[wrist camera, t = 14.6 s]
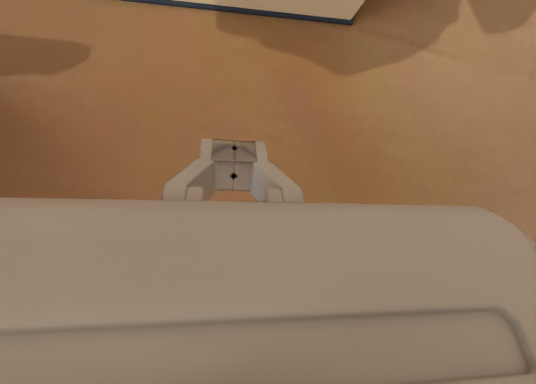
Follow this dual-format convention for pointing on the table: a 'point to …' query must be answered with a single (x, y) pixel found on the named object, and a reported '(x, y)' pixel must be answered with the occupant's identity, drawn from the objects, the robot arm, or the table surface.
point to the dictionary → (277, 8)
